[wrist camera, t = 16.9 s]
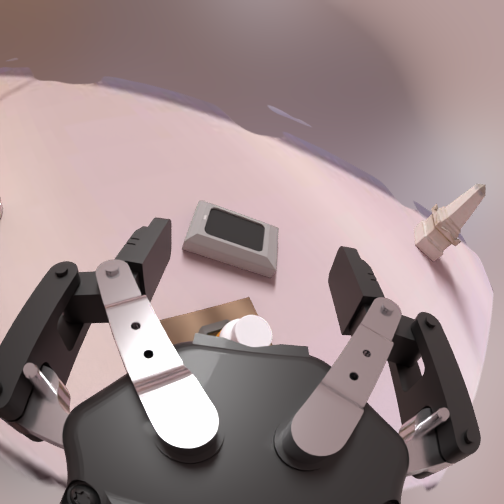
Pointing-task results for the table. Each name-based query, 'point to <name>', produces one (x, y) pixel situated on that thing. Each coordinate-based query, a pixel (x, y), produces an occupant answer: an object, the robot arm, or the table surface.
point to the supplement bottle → (248, 331)
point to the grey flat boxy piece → (233, 239)
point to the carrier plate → (206, 320)
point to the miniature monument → (447, 223)
